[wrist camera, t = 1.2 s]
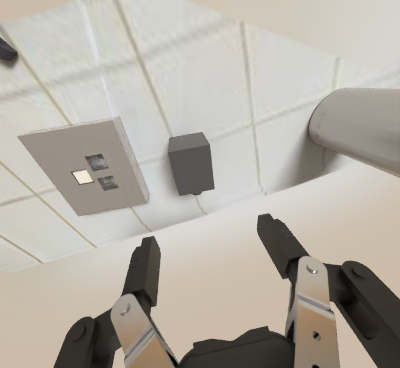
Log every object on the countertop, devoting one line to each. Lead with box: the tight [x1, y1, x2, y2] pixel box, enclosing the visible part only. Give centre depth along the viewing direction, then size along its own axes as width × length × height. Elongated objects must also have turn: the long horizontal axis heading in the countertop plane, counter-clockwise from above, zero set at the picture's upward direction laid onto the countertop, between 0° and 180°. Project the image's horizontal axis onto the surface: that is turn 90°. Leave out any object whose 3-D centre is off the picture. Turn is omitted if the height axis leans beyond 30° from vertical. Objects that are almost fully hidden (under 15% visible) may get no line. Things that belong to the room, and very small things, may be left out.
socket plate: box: [17, 117, 149, 216], centre depth 25 cm, size 12×14×3 cm
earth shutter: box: [73, 169, 94, 184], centre depth 24 cm, size 2×2×1 cm
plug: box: [168, 132, 214, 196], centre depth 24 cm, size 5×8×8 cm, turn 8°
